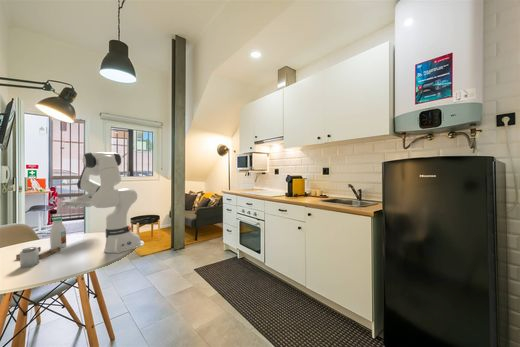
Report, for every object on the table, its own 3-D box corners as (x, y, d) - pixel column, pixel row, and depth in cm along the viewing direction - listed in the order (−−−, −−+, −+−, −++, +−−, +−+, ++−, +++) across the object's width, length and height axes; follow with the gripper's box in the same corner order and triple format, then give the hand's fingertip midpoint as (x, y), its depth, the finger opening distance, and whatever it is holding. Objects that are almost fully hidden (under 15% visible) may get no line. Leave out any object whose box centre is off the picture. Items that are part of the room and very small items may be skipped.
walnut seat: (39, 250, 137) (39, 247, 137) (60, 250, 136) (59, 247, 136) (16, 259, 124) (16, 255, 124) (39, 259, 124) (39, 255, 124)
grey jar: (40, 261, 122) (39, 245, 121) (37, 265, 116) (37, 248, 116) (22, 264, 117) (21, 248, 117) (18, 269, 112) (18, 252, 112)
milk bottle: (56, 249, 138) (55, 219, 138) (47, 249, 140) (46, 219, 139) (69, 245, 146) (68, 216, 145) (60, 244, 147) (59, 216, 147)
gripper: (69, 196, 164) (53, 201, 150) (96, 197, 165) (83, 202, 152) (69, 204, 165) (54, 210, 151) (97, 205, 166) (84, 211, 153)
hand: (69, 206), depth 152 cm, fingers open, 8 cm apart
